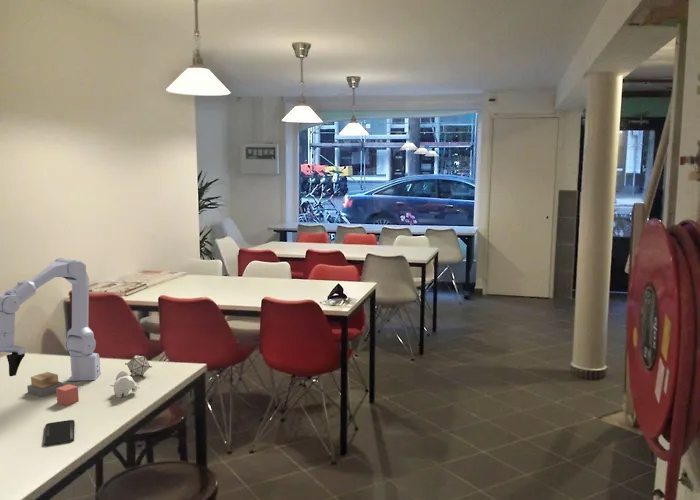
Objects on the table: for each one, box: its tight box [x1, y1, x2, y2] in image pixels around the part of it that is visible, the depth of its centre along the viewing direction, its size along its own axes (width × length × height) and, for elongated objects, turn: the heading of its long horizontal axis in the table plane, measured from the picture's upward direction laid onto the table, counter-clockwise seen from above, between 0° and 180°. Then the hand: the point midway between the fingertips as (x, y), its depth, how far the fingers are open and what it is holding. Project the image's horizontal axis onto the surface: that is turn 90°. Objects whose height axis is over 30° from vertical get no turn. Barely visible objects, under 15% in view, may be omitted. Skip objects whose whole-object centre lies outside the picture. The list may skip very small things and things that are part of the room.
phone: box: [42, 419, 75, 447], centre depth 180 cm, size 8×1×15 cm
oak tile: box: [30, 371, 59, 388], centre depth 213 cm, size 6×6×3 cm
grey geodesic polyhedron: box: [124, 353, 153, 378], centre depth 229 cm, size 9×8×10 cm
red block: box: [56, 383, 80, 406], centre depth 203 cm, size 5×5×5 cm
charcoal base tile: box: [26, 380, 64, 398], centre depth 213 cm, size 8×8×3 cm
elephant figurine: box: [109, 370, 140, 398], centre depth 210 cm, size 8×10×7 cm
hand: (2, 374), depth 200 cm, fingers open, 7 cm apart
